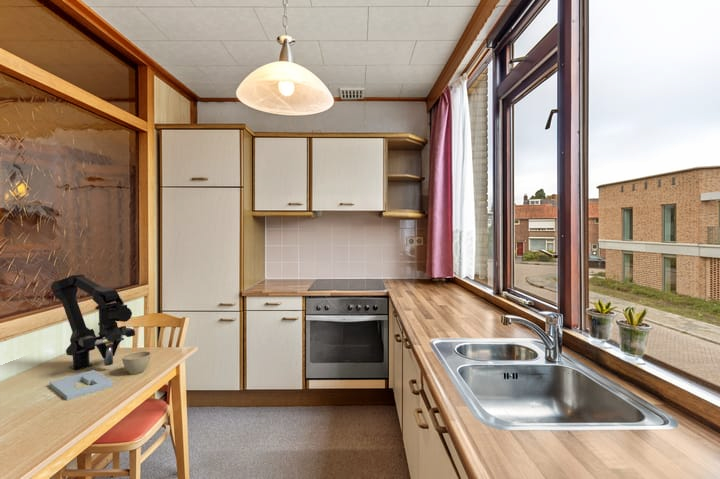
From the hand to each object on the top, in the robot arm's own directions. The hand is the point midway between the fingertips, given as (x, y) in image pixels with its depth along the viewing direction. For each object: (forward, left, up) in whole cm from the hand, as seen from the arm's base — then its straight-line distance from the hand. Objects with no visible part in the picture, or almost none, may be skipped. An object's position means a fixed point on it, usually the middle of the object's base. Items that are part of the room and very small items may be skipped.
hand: (108, 357), depth 150 cm
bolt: (0, 0, -3) cm, 3 cm away
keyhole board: (+9, -12, -6) cm, 16 cm away
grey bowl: (+12, +6, -6) cm, 15 cm away
